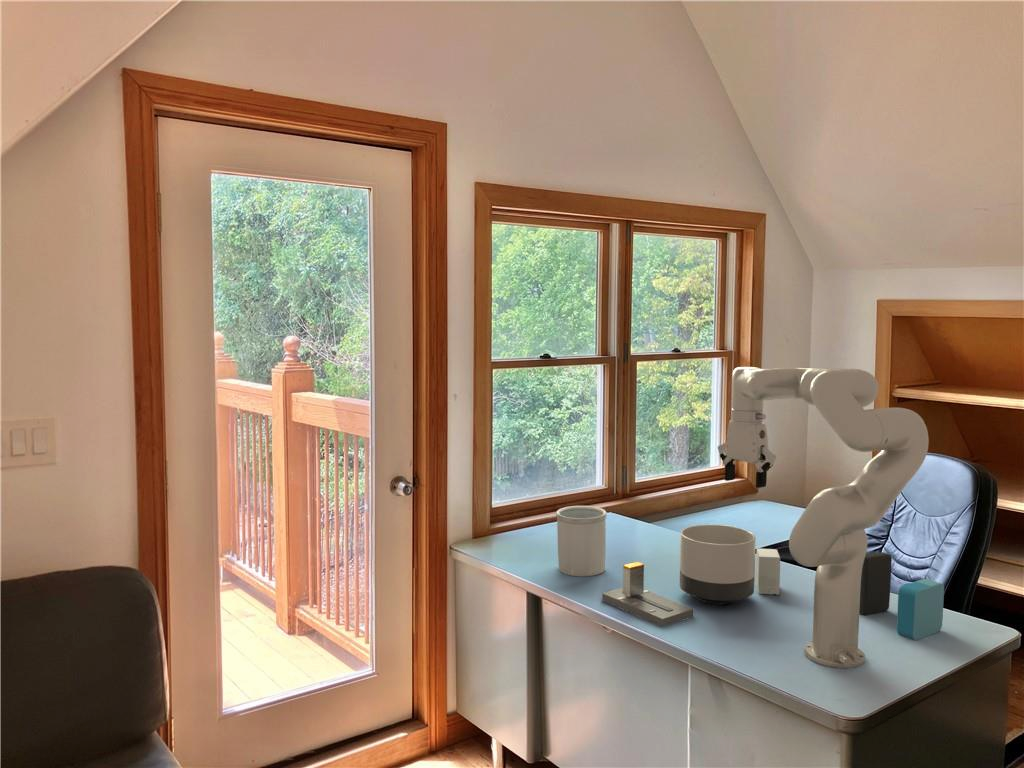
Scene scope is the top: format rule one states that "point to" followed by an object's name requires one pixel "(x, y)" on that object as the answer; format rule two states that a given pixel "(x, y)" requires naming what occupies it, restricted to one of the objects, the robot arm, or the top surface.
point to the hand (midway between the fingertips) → (745, 483)
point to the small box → (768, 571)
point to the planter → (717, 563)
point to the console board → (649, 606)
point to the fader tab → (633, 579)
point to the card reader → (875, 583)
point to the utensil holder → (581, 540)
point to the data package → (920, 609)
